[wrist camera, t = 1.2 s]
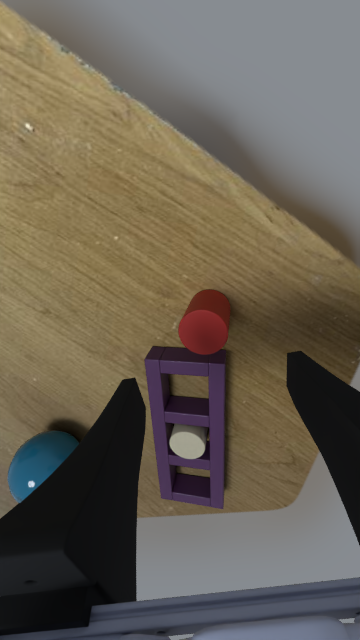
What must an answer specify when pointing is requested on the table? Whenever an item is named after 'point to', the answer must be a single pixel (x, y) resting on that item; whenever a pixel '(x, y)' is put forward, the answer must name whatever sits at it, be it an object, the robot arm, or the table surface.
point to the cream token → (188, 440)
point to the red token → (205, 323)
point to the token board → (188, 423)
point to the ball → (38, 461)
